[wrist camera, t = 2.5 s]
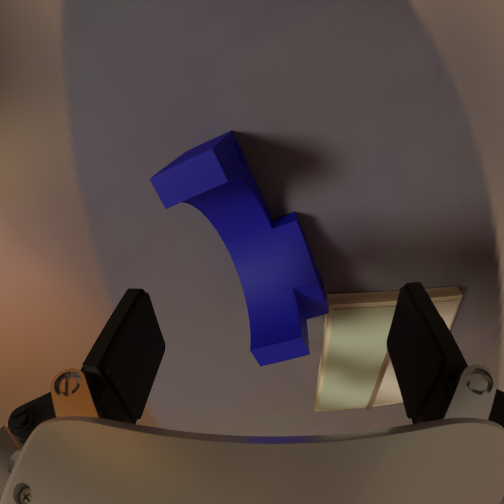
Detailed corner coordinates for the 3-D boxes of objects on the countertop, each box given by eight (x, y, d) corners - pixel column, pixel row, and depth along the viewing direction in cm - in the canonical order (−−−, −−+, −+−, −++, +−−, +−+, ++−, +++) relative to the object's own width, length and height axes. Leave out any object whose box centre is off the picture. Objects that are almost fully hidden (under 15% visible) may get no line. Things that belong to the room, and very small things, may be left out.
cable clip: (323, 285, 21) (335, 347, 16) (264, 303, 23) (260, 366, 17) (256, 120, 16) (247, 133, 11) (186, 151, 17) (149, 178, 12)
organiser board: (327, 294, 22) (330, 307, 20) (456, 286, 21) (464, 297, 19) (314, 401, 28) (315, 413, 27) (413, 391, 27) (416, 401, 26)
